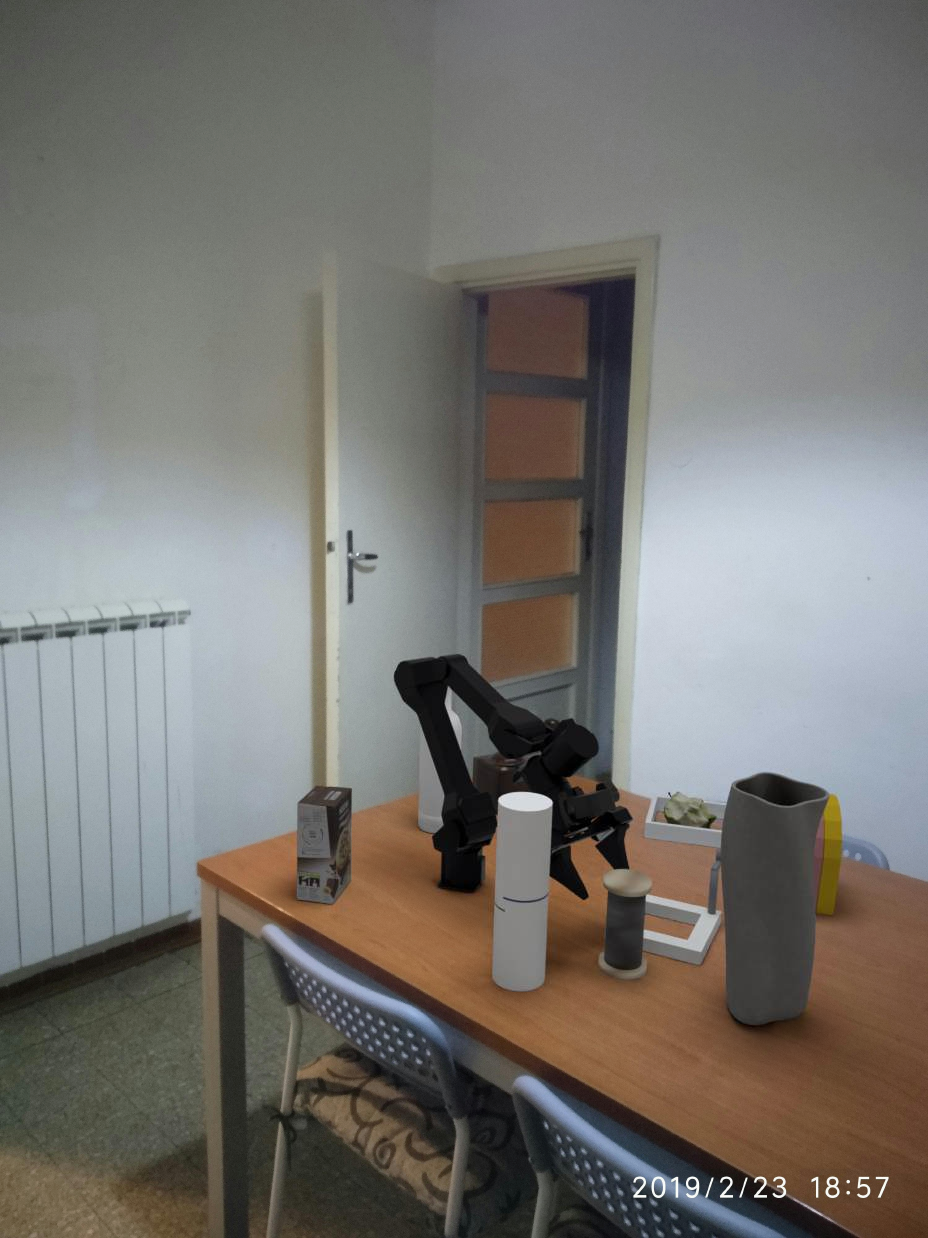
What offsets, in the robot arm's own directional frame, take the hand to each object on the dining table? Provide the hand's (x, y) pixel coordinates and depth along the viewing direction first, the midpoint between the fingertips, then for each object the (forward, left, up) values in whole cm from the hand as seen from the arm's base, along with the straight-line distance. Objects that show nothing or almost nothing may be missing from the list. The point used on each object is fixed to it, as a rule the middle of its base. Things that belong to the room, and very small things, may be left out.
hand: (608, 889), depth 133 cm
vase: (+21, -7, -10) cm, 24 cm away
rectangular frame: (+8, +11, -10) cm, 17 cm away
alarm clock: (+28, +30, -10) cm, 43 cm away
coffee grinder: (-26, +56, -10) cm, 63 cm away
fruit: (+8, +53, -11) cm, 55 cm away
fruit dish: (+9, +54, -10) cm, 56 cm away
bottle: (-37, +38, -10) cm, 54 cm away
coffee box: (-46, +6, -10) cm, 48 cm away
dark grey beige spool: (+3, -2, -10) cm, 11 cm away
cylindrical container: (-10, -9, -10) cm, 17 cm away
